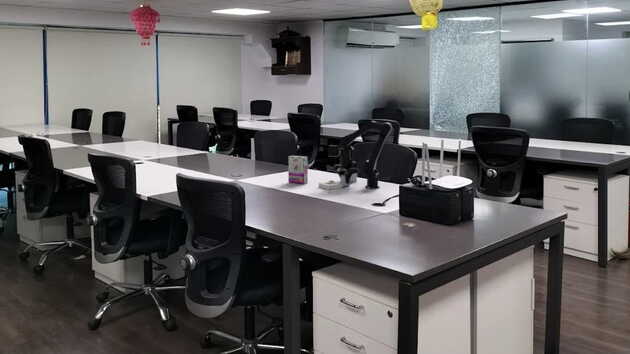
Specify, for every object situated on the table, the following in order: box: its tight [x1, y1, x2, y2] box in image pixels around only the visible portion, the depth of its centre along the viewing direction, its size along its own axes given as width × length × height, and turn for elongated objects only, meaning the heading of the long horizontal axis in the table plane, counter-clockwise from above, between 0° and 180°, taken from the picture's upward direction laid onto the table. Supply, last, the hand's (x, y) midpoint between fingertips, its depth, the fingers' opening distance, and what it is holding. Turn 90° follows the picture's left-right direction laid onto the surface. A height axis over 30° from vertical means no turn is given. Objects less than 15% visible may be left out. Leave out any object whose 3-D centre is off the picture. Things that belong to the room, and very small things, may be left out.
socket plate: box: [318, 180, 343, 191], centre depth 344 cm, size 10×10×3 cm
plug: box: [340, 172, 351, 187], centre depth 348 cm, size 4×4×8 cm
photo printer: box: [350, 173, 358, 182], centre depth 363 cm, size 10×4×12 cm, turn 98°
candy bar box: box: [287, 155, 309, 185], centre depth 356 cm, size 11×5×16 cm, turn 62°
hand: (345, 183), depth 348 cm, fingers closed on plug, 4 cm apart
